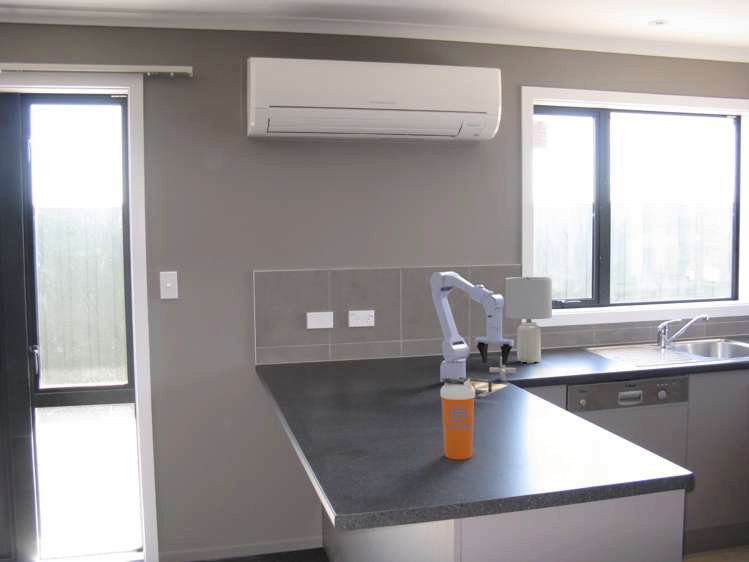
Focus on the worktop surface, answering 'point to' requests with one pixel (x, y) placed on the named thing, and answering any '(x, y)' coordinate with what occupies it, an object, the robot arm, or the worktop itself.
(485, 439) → the worktop surface
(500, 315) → the robot arm
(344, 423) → the worktop surface
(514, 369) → the pipe connector
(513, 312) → the lamp
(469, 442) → the shaker bottle
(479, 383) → the shelf board
